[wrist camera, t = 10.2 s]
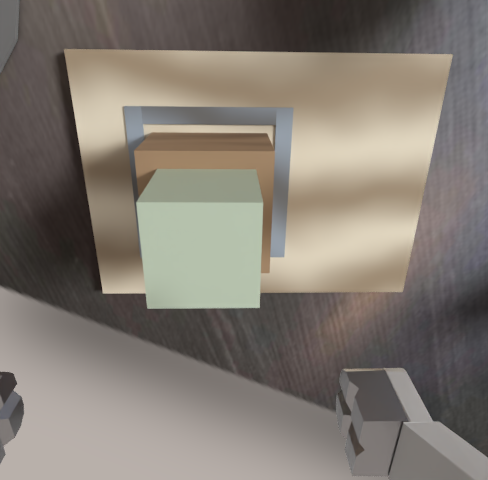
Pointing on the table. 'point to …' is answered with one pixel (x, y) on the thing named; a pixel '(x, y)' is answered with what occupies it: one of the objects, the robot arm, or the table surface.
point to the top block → (201, 238)
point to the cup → (8, 29)
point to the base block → (213, 163)
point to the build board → (284, 143)
